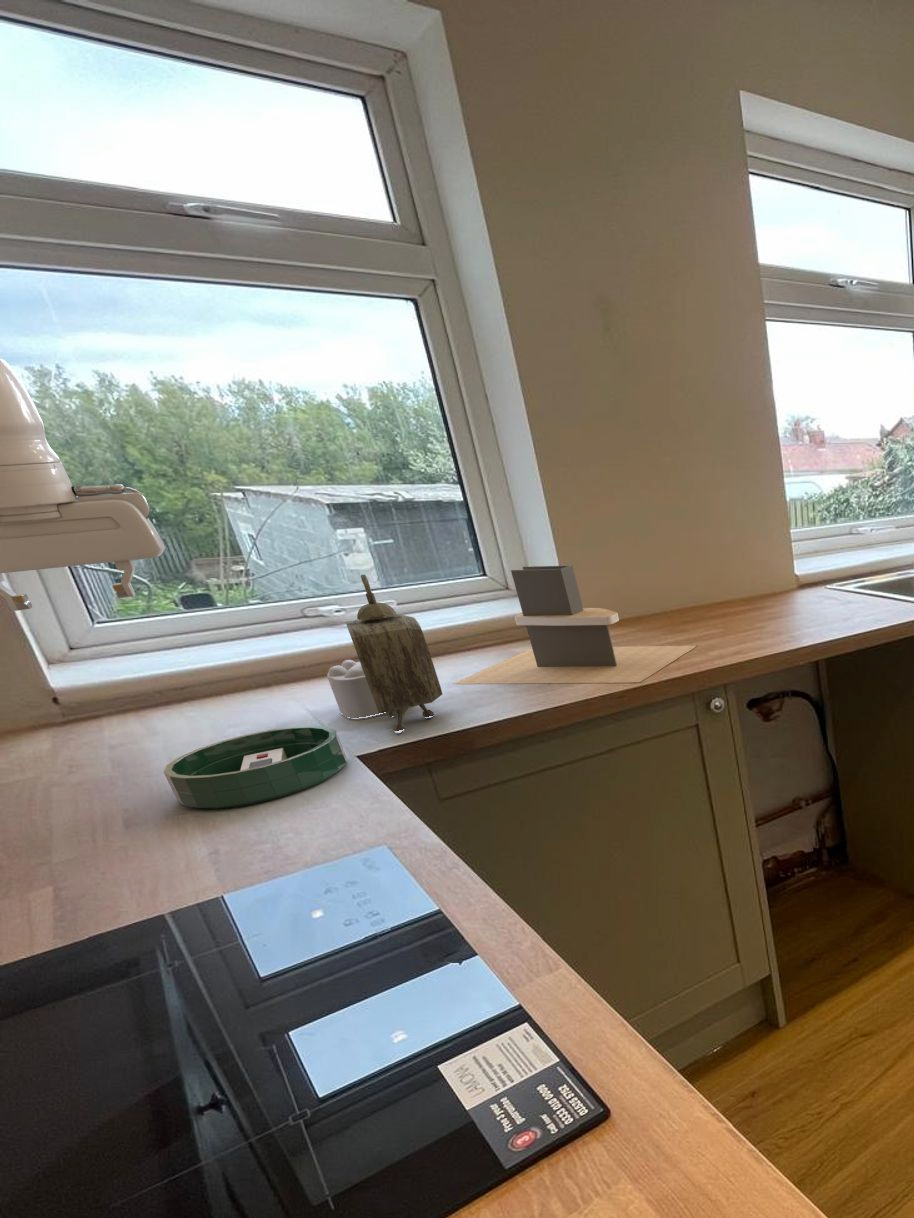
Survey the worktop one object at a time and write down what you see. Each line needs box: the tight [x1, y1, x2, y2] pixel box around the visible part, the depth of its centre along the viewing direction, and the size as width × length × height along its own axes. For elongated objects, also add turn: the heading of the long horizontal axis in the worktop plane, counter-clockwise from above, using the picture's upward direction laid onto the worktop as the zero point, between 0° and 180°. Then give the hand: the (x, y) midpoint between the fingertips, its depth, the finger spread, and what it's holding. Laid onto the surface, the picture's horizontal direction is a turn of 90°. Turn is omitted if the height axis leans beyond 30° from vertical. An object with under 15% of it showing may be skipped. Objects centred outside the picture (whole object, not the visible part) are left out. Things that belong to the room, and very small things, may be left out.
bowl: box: [163, 725, 347, 810], centre depth 116 cm, size 19×19×5 cm
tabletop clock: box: [345, 574, 443, 732], centre depth 133 cm, size 14×9×25 cm, turn 40°
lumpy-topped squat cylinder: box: [326, 659, 411, 721], centre depth 145 cm, size 10×13×9 cm
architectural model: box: [453, 565, 697, 685], centre depth 163 cm, size 38×25×20 cm, turn 85°
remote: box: [240, 748, 287, 771], centre depth 116 cm, size 12×4×2 cm, turn 38°
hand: (76, 603), depth 104 cm, fingers open, 8 cm apart
